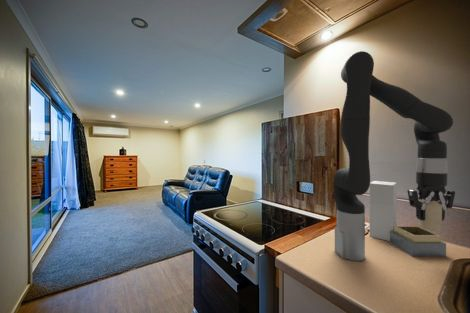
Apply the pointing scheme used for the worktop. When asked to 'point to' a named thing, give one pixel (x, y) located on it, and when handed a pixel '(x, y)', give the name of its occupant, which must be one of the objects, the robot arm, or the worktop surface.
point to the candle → (432, 217)
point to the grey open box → (417, 241)
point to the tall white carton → (382, 209)
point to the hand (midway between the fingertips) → (430, 219)
